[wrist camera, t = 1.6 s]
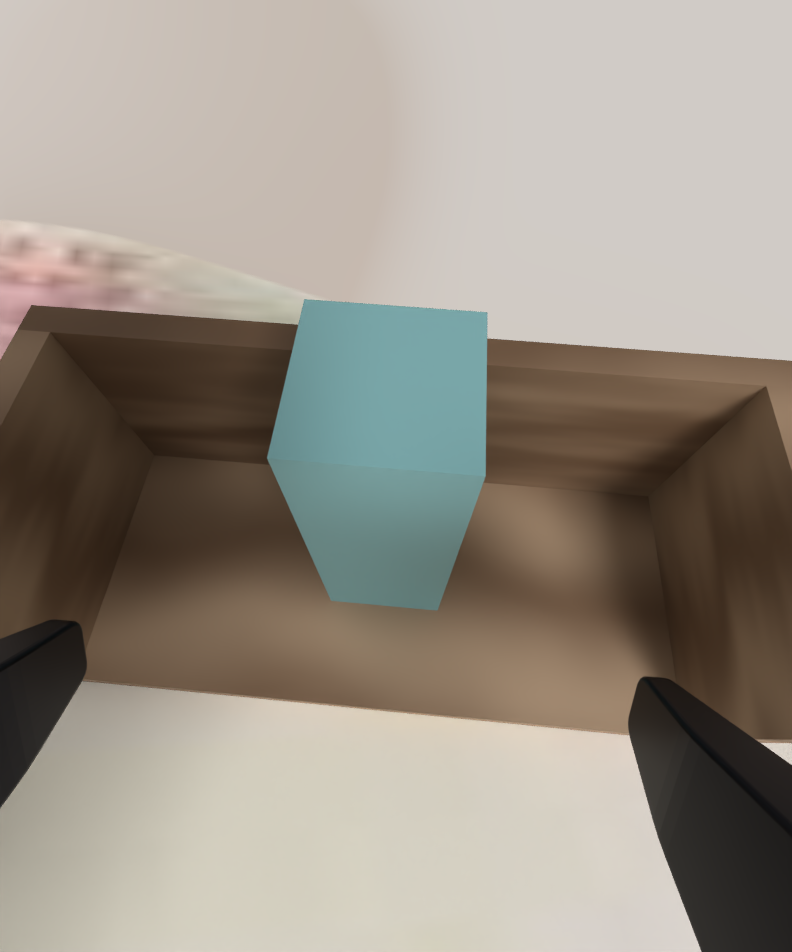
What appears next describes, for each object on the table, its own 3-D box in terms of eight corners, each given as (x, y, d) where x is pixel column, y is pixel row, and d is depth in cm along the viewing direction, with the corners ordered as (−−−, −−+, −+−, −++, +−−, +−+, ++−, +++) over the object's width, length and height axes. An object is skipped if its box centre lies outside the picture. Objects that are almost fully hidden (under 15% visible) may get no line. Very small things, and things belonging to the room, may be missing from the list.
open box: (691, 741, 18) (922, 745, 10) (72, 679, 19) (-158, 638, 11) (653, 492, 23) (793, 361, 15) (153, 450, 24) (31, 305, 16)
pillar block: (437, 610, 19) (485, 476, 9) (331, 600, 19) (267, 458, 9) (442, 512, 21) (487, 312, 11) (345, 503, 21) (304, 299, 11)
